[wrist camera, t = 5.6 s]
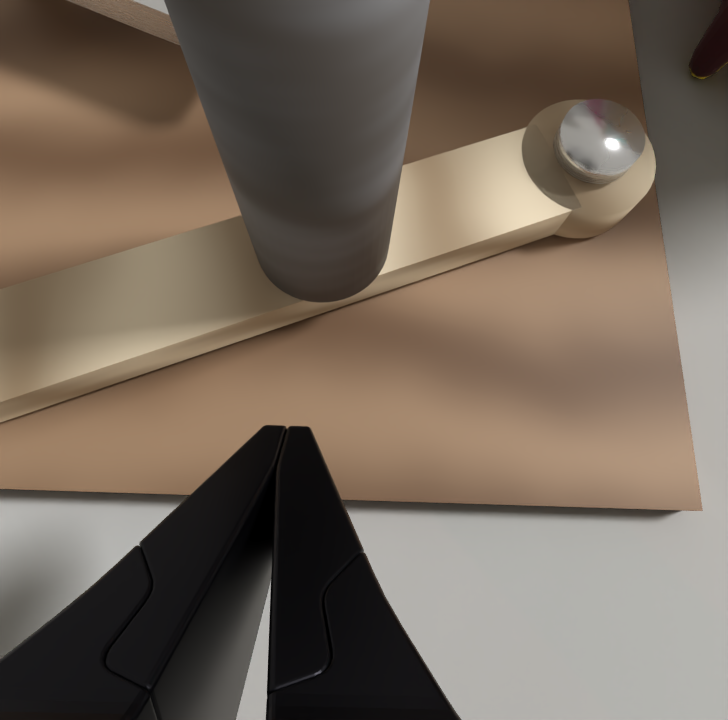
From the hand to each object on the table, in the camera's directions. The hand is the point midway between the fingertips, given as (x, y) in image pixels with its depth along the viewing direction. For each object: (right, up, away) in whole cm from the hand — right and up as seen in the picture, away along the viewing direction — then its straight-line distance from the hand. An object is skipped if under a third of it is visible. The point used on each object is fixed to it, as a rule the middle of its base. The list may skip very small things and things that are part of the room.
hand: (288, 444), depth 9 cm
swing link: (0, +5, +9) cm, 10 cm away
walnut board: (-1, +8, +11) cm, 14 cm away
